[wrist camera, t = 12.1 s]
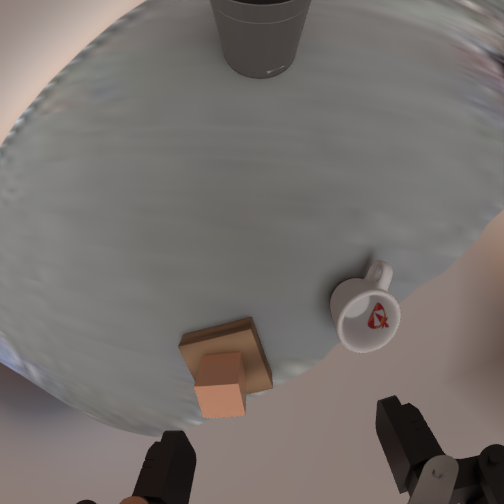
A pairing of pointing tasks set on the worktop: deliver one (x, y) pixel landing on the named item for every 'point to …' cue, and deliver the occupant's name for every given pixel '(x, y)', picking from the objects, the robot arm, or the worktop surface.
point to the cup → (366, 310)
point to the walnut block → (230, 351)
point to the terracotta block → (221, 385)
